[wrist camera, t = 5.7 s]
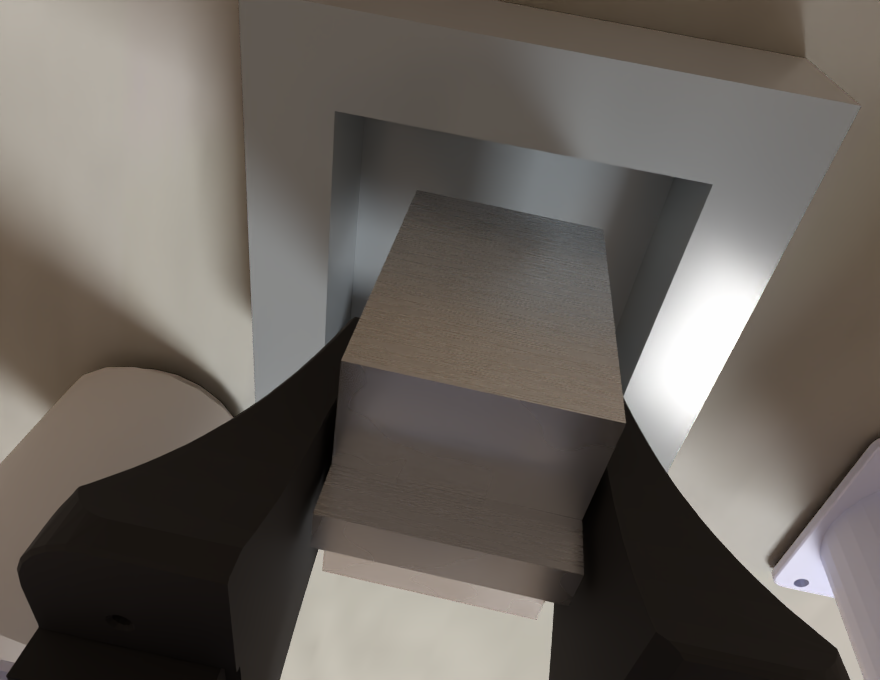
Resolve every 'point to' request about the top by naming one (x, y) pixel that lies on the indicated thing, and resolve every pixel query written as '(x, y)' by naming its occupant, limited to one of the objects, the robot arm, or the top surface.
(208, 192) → the top surface
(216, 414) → the can
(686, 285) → the well block
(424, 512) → the bracket
